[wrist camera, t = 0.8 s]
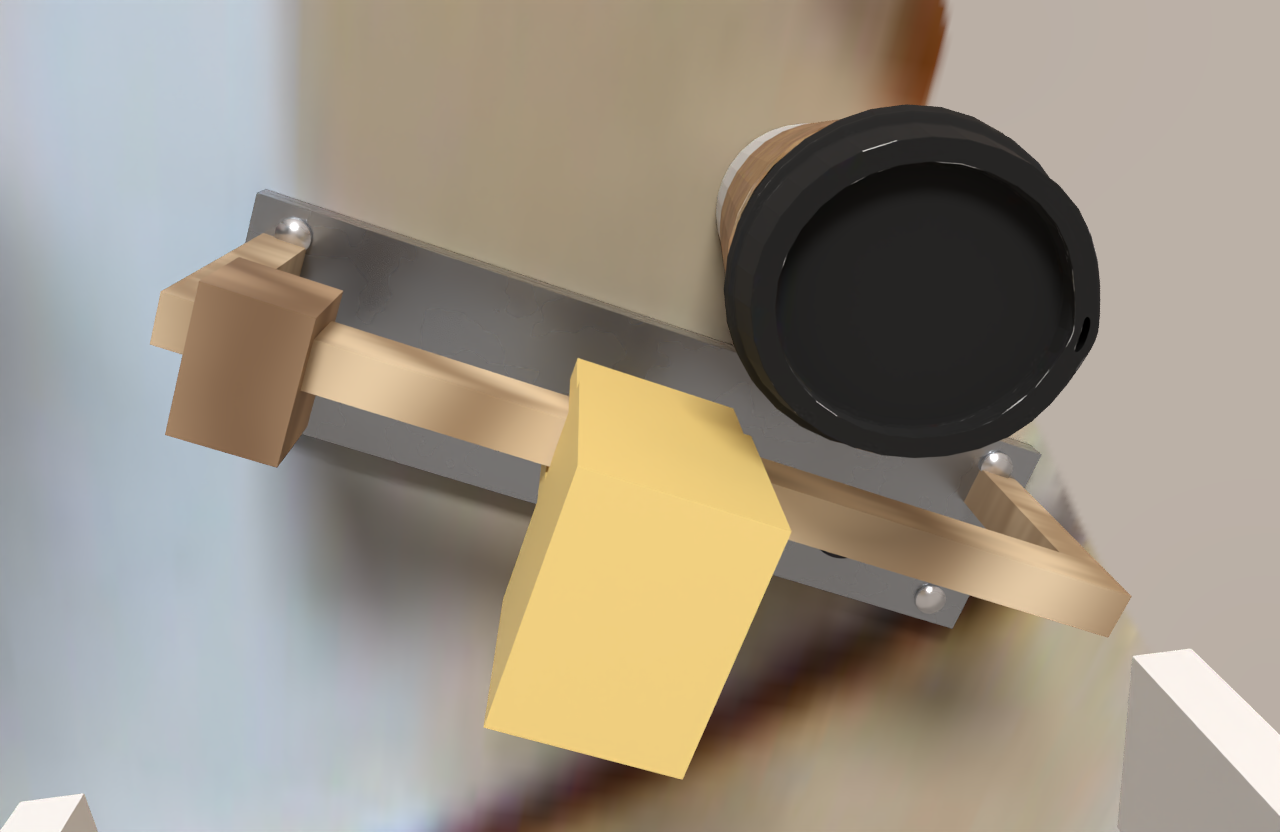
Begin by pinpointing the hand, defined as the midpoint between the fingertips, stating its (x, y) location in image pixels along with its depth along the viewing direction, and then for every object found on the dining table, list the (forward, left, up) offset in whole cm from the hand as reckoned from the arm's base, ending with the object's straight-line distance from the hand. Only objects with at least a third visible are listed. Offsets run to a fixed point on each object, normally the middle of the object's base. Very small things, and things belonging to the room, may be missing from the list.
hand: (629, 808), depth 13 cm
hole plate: (+3, -4, -26) cm, 27 cm away
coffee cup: (+5, +6, -26) cm, 28 cm away
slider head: (+2, -3, -25) cm, 25 cm away
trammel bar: (+3, -3, -25) cm, 25 cm away
